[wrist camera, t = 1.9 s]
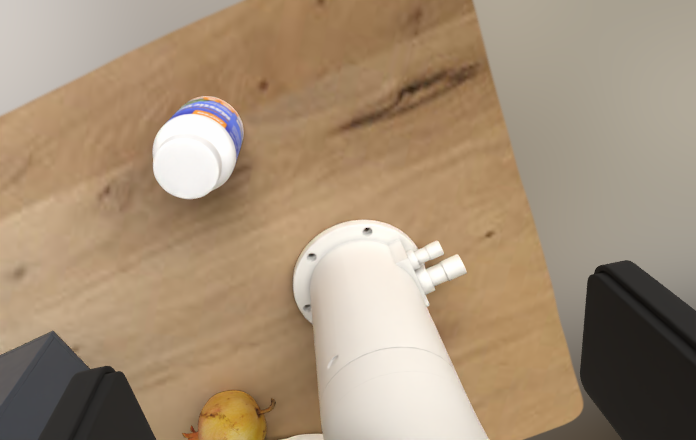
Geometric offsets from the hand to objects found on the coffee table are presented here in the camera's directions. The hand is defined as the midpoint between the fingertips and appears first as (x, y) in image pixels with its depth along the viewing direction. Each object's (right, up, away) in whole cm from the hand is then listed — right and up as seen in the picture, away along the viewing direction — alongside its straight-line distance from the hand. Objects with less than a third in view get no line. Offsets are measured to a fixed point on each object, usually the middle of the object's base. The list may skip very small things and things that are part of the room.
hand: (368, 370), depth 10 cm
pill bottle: (-11, +10, +29) cm, 32 cm away
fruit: (-12, -16, +41) cm, 46 cm away
